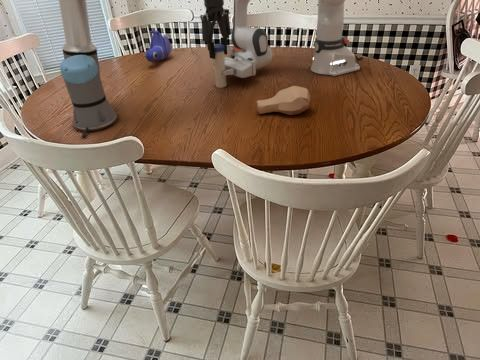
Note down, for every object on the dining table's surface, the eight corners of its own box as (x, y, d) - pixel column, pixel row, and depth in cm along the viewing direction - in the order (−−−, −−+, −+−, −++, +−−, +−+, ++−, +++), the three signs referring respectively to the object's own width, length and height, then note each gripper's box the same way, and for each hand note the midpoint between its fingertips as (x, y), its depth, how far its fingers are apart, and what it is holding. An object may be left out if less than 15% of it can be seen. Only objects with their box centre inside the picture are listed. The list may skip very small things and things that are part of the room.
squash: (314, 116, 128) (313, 95, 122) (259, 125, 130) (256, 105, 124) (308, 99, 136) (307, 78, 129) (257, 108, 138) (253, 88, 131)
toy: (159, 62, 200) (139, 68, 178) (155, 30, 193) (133, 32, 171) (176, 61, 198) (157, 67, 176) (172, 29, 191) (151, 31, 169)
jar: (213, 86, 156) (209, 49, 147) (219, 83, 159) (216, 45, 150) (222, 88, 154) (219, 50, 144) (228, 84, 157) (226, 47, 148)
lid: (212, 48, 150) (212, 44, 149) (225, 47, 150) (225, 43, 149) (210, 52, 146) (210, 48, 145) (224, 51, 145) (223, 47, 144)
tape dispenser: (245, 69, 176) (265, 54, 189) (245, 58, 173) (265, 44, 185) (216, 62, 184) (237, 49, 196) (215, 52, 180) (236, 39, 193)
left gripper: (200, 0, 128) (207, 63, 142) (237, -9, 139) (240, 51, 152) (187, -2, 132) (195, 60, 146) (224, -10, 143) (228, 48, 157)
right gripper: (227, 52, 164) (203, 59, 157) (257, 61, 151) (232, 69, 144) (228, 65, 168) (205, 73, 161) (258, 75, 155) (233, 84, 148)
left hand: (218, 55), depth 149 cm, fingers open, 6 cm apart
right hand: (218, 71), depth 152 cm, fingers closed on jar, 5 cm apart
